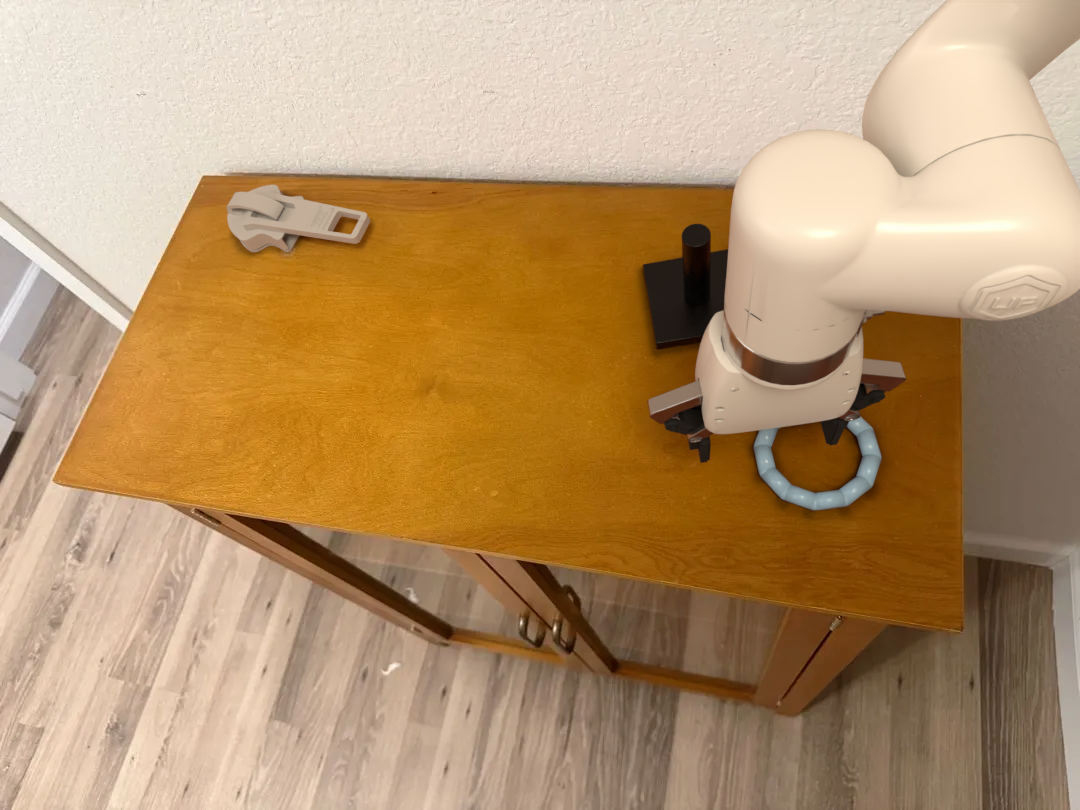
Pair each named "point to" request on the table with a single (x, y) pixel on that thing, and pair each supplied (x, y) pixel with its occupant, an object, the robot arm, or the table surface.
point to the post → (686, 289)
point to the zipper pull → (286, 219)
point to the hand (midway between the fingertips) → (763, 436)
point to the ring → (828, 498)
